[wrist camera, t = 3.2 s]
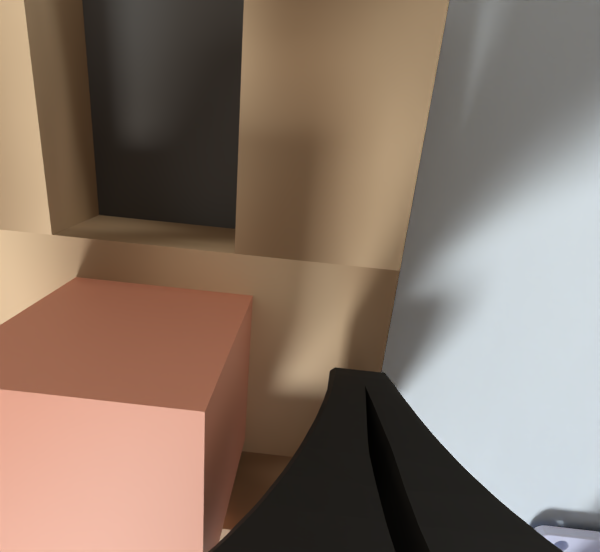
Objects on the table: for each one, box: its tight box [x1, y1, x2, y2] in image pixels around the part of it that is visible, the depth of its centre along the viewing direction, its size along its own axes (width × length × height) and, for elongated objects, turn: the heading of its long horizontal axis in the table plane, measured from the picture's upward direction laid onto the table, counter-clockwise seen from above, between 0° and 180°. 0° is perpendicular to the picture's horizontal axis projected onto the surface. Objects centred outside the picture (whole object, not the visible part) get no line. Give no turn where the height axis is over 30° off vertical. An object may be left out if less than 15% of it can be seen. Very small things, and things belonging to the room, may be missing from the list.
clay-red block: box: [0, 277, 253, 552], centre depth 9 cm, size 4×4×4 cm
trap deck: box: [0, 0, 449, 542], centre depth 11 cm, size 20×13×5 cm, turn 85°
